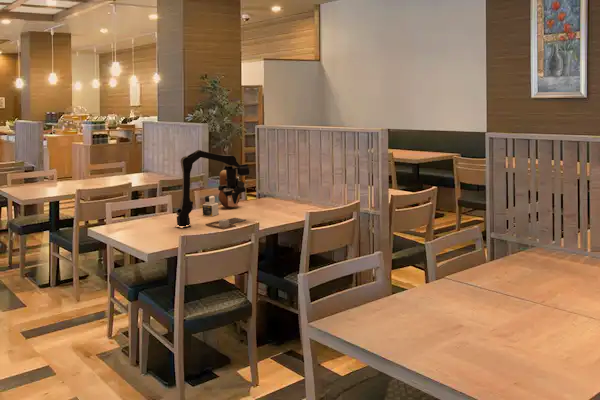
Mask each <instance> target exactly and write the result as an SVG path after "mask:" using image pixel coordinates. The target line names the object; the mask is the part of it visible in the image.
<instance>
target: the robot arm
mask: <svg viewBox="0 0 600 400" xmlns="http://www.w3.org/2000/svg"><path fill="white" fill-rule="evenodd" d="M201 158H202V159H203V158H204V159H208V160H212V161H215V162H217V161H218V162H220V163H223V164H226V165H224V166H223V167H222V168H221V169H222V171H223V170H226V179H225V181H227V185H220V184H219V186H218V187H217V188H218V191H219V192H220V191H222V190H223V191H222V192H223V193H224V194H225V196H226V198H227V199H228V196H230V195H232V198H233V202H234V204H236V202H237V198H238V195H239V196H240V194H241V193H246V192H247V188H246V187H245V184H246V182H243V181H241V180H239V178H238V177H247V176H249V175H250V168H249V164H248V163H242V164H240V163H239V162H238V161H237V158H236V157H235V155H232V154H217V153H213V152H208V151H204V150H201V149H197V150H195V151H194V152H192V153H191V154H188V155H187V156H186V155H185V156H182V158H181V159H180V167H181V170H182V171H181V172H182V191H181V192H182V193H181V200H180V204H179V208H178V209H177V210H176V211H175V213H176V215H177V216H176V226H177V225H179V226H186V225H189V224H190V225H191V219H190V213H192V211H193V209H194V207H193V204H194V201H193V200H191V198H190V196H191V195H190V193H191V171H192V169H193V165H194V163H196V162H197V161H198V160H199V159H201ZM236 174H237V178H236ZM230 188H231V189H230ZM233 191H234V192H233Z"/></svg>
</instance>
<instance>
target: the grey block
mask: <svg viewBox="0 0 600 400" xmlns="http://www.w3.org/2000/svg"><path fill="white" fill-rule="evenodd" d="M218 221H219V223H218V224H219V225H218V226H221V227H226V226H229V220H227V219H226V218H223V219H220V220H218Z"/></svg>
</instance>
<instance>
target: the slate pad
mask: <svg viewBox="0 0 600 400" xmlns="http://www.w3.org/2000/svg"><path fill="white" fill-rule="evenodd" d="M227 220H229V223H230V224H236V223H237V224H238V223H242V222H246V220H247V219H244V218H239V217H232V218H228V219H227Z"/></svg>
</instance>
